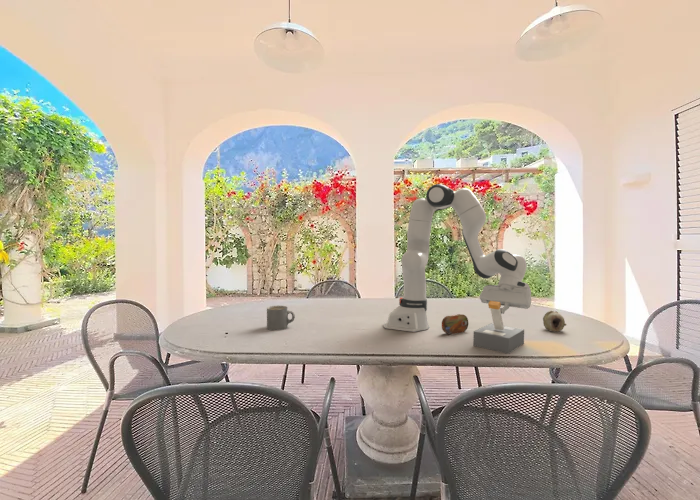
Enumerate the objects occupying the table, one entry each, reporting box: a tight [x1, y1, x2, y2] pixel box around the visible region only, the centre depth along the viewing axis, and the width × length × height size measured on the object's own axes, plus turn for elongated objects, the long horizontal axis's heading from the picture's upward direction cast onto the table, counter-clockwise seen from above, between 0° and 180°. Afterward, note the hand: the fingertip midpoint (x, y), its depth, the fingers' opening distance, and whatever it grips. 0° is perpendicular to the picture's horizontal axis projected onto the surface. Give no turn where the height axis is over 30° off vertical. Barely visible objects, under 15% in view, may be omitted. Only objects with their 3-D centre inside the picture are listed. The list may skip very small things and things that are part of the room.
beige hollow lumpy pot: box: [542, 310, 567, 333], centre depth 164 cm, size 9×8×10 cm
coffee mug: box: [266, 305, 296, 331], centre depth 167 cm, size 13×10×10 cm
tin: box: [441, 313, 469, 335], centre depth 160 cm, size 15×3×8 cm, turn 118°
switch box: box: [472, 322, 525, 354], centre depth 142 cm, size 18×14×6 cm
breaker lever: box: [487, 301, 505, 330], centre depth 139 cm, size 2×4×13 cm, turn 45°
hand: (499, 312), depth 141 cm, fingers closed
